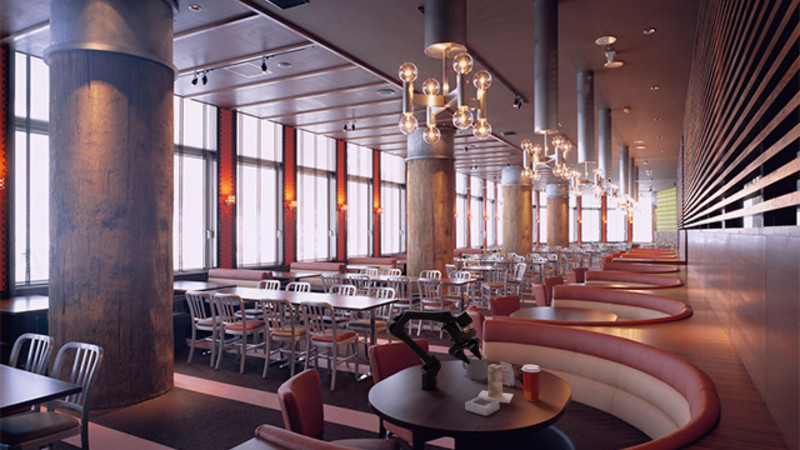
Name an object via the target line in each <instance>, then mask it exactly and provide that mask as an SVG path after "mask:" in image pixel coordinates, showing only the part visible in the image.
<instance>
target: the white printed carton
mask: <svg viewBox="0 0 800 450" xmlns="http://www.w3.org/2000/svg"><path fill="white" fill-rule="evenodd" d="M498 365H500V366H502V386H506V385H507V387H512V386H515V371H514V369H513V365H512V364H511V363H509V362H504V361H499V364H498ZM511 385H512V386H511Z"/></svg>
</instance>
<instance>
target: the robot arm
mask: <svg viewBox="0 0 800 450" xmlns="http://www.w3.org/2000/svg"><path fill="white" fill-rule="evenodd" d="M410 320H413V321H414V320H415V321H435V322H438V323H442V324H441V325H440V327H441V328H440V333H443V332H444V331H445V332H446V333H447V335H448V336H449V337H450V340H449V341H450V342H451V343H452V342H453V344H452V345H451V346H450V347H449V348H448V350H447V353H448V354H449V356H450V357H454V358H457V359H458V360H460V361H464V362H465V364H466V363H467V364H470V361H469V359H468V358H467V355H466V353H465V349H466V348H467V349H468V350H469V352H470V353H471V354H474V355H475V356H476V357H477V358H478V359H480V360H481V359H482V357H481V355H482V354H481V351H480V347H479V345H480V343H481V339H480V338H479V337H477V333H478V332H477V330H476V329H475V328H474V327H471V328H469V329H468V331H464V330H463V329H465V328H466V327H468V326H470V325H471V324H473V322H474V320H473V318H472V317H471V316H470V314H468V312H467V311H466V310H463V311H462V312H460V313H459V314H457V315H454V314H452V312H451V311H448V310H447V309H438V310H437V309H436V310H434V311H433V310H432V311H427V310H408V309H405V310H403V311H402V312H401V313H400V314H398V315H397V316H395V317H394V318H392V319H390V320H389V321H387V322H386V325H385V328H386V331H387V332H388V333H389V334H391V335H392V336H393V337H395V338H397V339H399V340H400V341H401V342H403V344H405V346H407V348H409V349H410V350H411V351H412V352H413V353H414V354H415V355H416V356H417V357H419V358H420V360H421V362H423V365H422V366H421V368H420V372H421V373H422V374H421V387H420V389H421V390H425V391H436V389H437V388H438V387H439V378H438V374H439V371H441V369H442V363H441V362H440V361H441V360H440V359H439V358H438V357H437V356H436V355H435V354H434V353H433V352H431V351H429V352H428V353H427V352H426V351H425V350H424V349H423V348H422V347H421V346H420V345H419V344H417V342H415V341H414V340H413V339H412V338H411V337H410V336H409V335H408V334H407V332H406V331H405V329H404V327H406V325H407V324H408V322H410ZM461 329H462V331H461Z"/></svg>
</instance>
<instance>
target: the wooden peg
mask: <svg viewBox="0 0 800 450" xmlns="http://www.w3.org/2000/svg"><path fill="white" fill-rule="evenodd" d="M487 391H488V396H490V397H493V398H499V397H501V396H503V393H504V392H503V384H502V366H500V365H499V364H495V363H492V364H489V365H487Z"/></svg>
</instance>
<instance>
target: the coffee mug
mask: <svg viewBox="0 0 800 450" xmlns="http://www.w3.org/2000/svg"><path fill="white" fill-rule="evenodd" d="M466 356H467V358H468V359H469V361H470V364H467V363H465V362H464V361H462V360H461V361H462V363H461V364H462V365H461V366H462V368H463V369H464V370H465V371H466V378H467V379H469V380H472V379H475V380H474V381H482V379H483V380H486V379H488V364H487V361H488V360H487V359H488V358H487V355H484V354H481V357H482V359H481V360H480V359H478V358H477V357H476V356H475V355H474V354H472V353H471V354H467V355H466ZM485 378H486V379H485Z"/></svg>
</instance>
